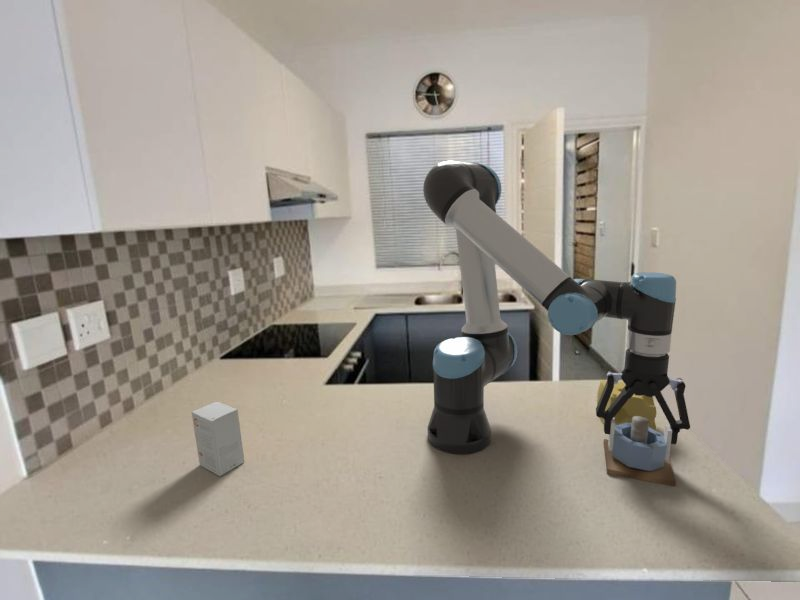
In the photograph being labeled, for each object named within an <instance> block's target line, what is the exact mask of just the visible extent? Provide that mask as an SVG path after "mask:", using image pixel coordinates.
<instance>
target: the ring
mask: <svg viewBox="0 0 800 600" xmlns="http://www.w3.org/2000/svg"><path fill="white" fill-rule="evenodd" d="M631 428H632V423H627V422H626V423H623V424H619V425H615V433H614V444H613V451H612V456H613V457H614V458H616V459H617V460H619V461H620V462H622V463H623V464H625V465H626V466H628V467H632V468H637V469H642V470H647V471H652V470H655V469H658V468H661V467H664V462H665V455H666V449H667V443H666V441H665V438H664V433H661V432H659V431H657V429H656V430H654V429H652V428H650V427H648V437H647V444H645V443H639V442H634V441H632V440H630V439H631Z"/></svg>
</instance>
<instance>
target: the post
mask: <svg viewBox="0 0 800 600" xmlns="http://www.w3.org/2000/svg"><path fill="white" fill-rule="evenodd" d="M648 427H649V420H648V419H647V418H645V417H641V416H634V417H633V418H632V428H631V439H630V440H632V441H634V442H639V443H645V444H647V437H648ZM608 440H609V439H606V438H605V439H603V450H604V459H605V467H606V469H605V470H606V474H608V475H613V476H619V477H624V478H630V479H636V480H641V481H646V482H651V483H656V484H657V483H658V484H661V485H662V484H663V485H667V486H674V487H676V486H677V485H676V484H677V479H676V477H675V473H674V471H673V469H672V466H671V462H670V459H669V460H665V462H664V467H661V468H658V469H655V470H652V471H647V470H642V469H637V468H632V467H628V466H626V465H625V464H623V463H622V462H620V461H619V460H617V459H616V458H614V457H613V456H612V451H609V446H608Z"/></svg>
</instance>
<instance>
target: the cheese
mask: <svg viewBox="0 0 800 600" xmlns="http://www.w3.org/2000/svg"><path fill="white" fill-rule="evenodd" d="M606 382H607V380H600V383H599V385H598V389H597V397H596V406H597V405H598V402H599V400H600V397H601V395H602V392H603V390H604V387H605V385H606ZM625 385H626V384H625V383H624V382H623V381H618V383H617V384H614V388H613V391H612V393H611V396H610V398H609V401H608V403H607V406H606V408H605V411H606V410H607V409H608V408H609V407H610V405H611V404H612V403H613V402H614V400H615V399H616V398H617V397H618V395H619V394H620V393H621V392H622V390H623V388H624V387H625ZM634 416H641V417H645V418H647V419H648V420H649V427H650V428H652V429H654V430H656V431H657V424H656V419H655V418H656V417H657V407H656V405H655V400H654V396H653V397H648V396H645V395H641V396H638V395H635V394H634V395H633V396H632V397H631V398H630V399H628V401H627V402H626V403H625V404H624V405H623V407H622V408H621V409H620V410H619V412H618V413H617V414H616V415H615V417H614V418H615V425H619V424H623V423H626V422H627V423H632V418H633V417H634ZM599 419H600V421H601V423H602V424H603V425H604V419H603V418H601V417H599Z"/></svg>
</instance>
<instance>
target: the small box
mask: <svg viewBox="0 0 800 600" xmlns="http://www.w3.org/2000/svg"><path fill="white" fill-rule="evenodd" d="M191 417H192V423H193V424H192V425H193V430H194V437H195V443H196V451H197V456H198V463H199V466H201V467H203V468H204V469H206V470H207V471H209V472H212V473H213V474H215V475H216V476H217V477H221V476H223V475H225V474H226V473H228V472H230V471H232V470H233V469H235V468H237V467H238V466H240V465H242V464H243V463H245V455H244V449H243V441H242V433H241V425H240V419H239V410H238V409H237V408H235V407H232V406H229V405H227V404H224V403H222V402H220V401H215V402H211V403H210V404H208V405H205V406H202V407H200V408H197V409H195V410H193V411H191Z"/></svg>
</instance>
